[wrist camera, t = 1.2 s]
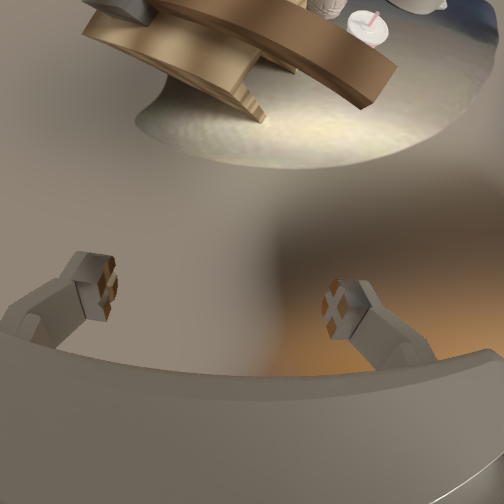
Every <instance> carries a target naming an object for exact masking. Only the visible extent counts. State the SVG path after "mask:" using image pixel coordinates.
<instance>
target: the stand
mask: <svg viewBox="0 0 504 504" xmlns="http://www.w3.org/2000/svg"><path fill="white" fill-rule="evenodd" d="M287 1H289V2H292V3H294V4H296V5H298V6H300V7H303V8H305V9H306V5H307V0H287ZM82 35H85V36H87V37H90V38H92V39H94V40H97V41H99V42H102V43H104V44H107V45H109V46H111V47H113V48H115V49H118V50H120V51H122V52H124V53H126V54H128V55H131V56H133V57H135V58H137V59H139V60H141V61H143V62H145V63H147V64H149V65H151V66H153V67H155V68H157V69H159V70H161V71H162V72H164V73H166V74H168V75H170V76H171V77H173V78H175V79H177V80H180V81H182V82H184V83H186V84H188V85H190V86H192V87H194V88H196V89H199V90H201V91H203V92H205V93H207V94H209V95H211V96H212V97H214V98H216V99H218V100H220V101H222V102H224V103H226V104H228V105H230V106H231V107H233V108H235V109H237V110H239V111H241V112H242V113H244V114H246V115H248V116H249V117H251V118H253V119H255V120H256V121H258V122H260V123H261V124H262V122H263V121H264V119H265V118H266V115H265V113H264V112H263V110H262V109H261V107H260V106H259V104H258V103H257V101H256V100H255V98H254V97H253V96H252V94H251V93H250V91H249V90H248V88H247V87H246V85H245V84H244V83H243V80H244V79H245V77H246V76H247V74H248V73H249V72H250V70H251V69H252V67H253V66H254V64H255V63H256V62H257V60H258V59H259V58H260V56H262V57H264V58H266V59H268V60H270V61H272V62H274V63H276V64H277V65H279V66H281V67H283V68H285V69H287V70H288V71H290V72H292V73H294V74H296V73H297V71H298V69H296V68H295V67H293V66H291V65H289V64H287V63H286V62H284V61H282V60H280V59H278V58H276V57H274V56H272V55H270V54H268V53H266V52H264V51H262V50H260V49H258V48H256V47H254V46H252V45H250V44H247V43H245V42H243V41H241V40H238V39H236V38H234V37H231V36H229V35H226V34H224V33H222V32H219V31H216V30H214V29H211V28H208V27H206V26H203V25H200V24H197V23H194V22H191V21H188V20H185V19H182V18H179V17H176V16H172V15H169V14H165V13H161V12H159V13H158V14H157V15H156V17H155V18H154V19H153V21H152V22H151V24H150V25H149V27H146V26H143V25H139V24H136V23H132V22H128V21H124V20H120V19H116V18H112V17H110V16H108V15H106V14H105V13H103V12H101V11H99V10H97V11H96V12H95V14H94V15H93V17H92V18H91V20H90V21H89V23H88V25H87V26H86V28H85V30H84V31H83V33H82Z"/></svg>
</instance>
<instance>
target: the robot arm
mask: <svg viewBox="0 0 504 504" xmlns="http://www.w3.org/2000/svg"><path fill="white" fill-rule="evenodd" d="M388 1H389V2H391V3H392V4H394V5H396V6H397V7H399V8H401V9H403V10H405V11H408V12H411V13H415V14H429V13H431V12H433V11H434V10H444V9H446V7H447V3H446V0H388ZM115 266H116V265H115V258H114V257H113V256H109V255H103V254H96V253H90V252H89V253H88V252H82V251H77V252H75V253H74V255H73V256H72V258H71V259H70V261H69V262H68V264H67V265H66V267H65V269H64V270H63V272H62V273H61V275H60V277H59V278H54V279H52V280H51V281H49V282H47V283H45V284H44V285H42V286H41V287H39V288H37V289H36V290H34V291H32V292H31V293H29V294H27V295H26V296H24V297H23V298H21V299H19V300H18V301H16V302H15V303H13V304H11V305H10V306H9V307H8V309H7V310H6V312H5V314H4V316H3V317H2V319H1V321H0V504H504V358H502V357H501V356H500V355H499V354H498V353H496V352H495V351H493V350H492V349H483V350H479V351H476V352H472V353H468V354H464V355H460V356H456V357H452V358H448V359H443V360H437V358H436V357H435V355H434V353H433V351H432V349H431V347H430V345H429V343H428V341H427V339H425V338H424V337H423V336H421V335H420V334H419V333H418V332H416V331H415V330H414V329H413V328H411V327H410V326H409V325H408V324H406V323H405V322H404V321H402V320H401V319H400V318H398V317H397V316H396V315H395V314H393V313H392V312H390V311H389V310H388V309H386V308H383V306H382V305H381V303H380V301H379V299H378V298H377V296H376V294H375V292H374V290H373V288H372V287H371V285H370V283H369V282H368V281H366V280H345V279H333V280H332V281H331V283H330V285H329V289H330V292H328V293H327V294H326V295H325V296H324V298H323V300H322V305H321V311H322V315H323V318H324V319H325V320H326V321H327V322H328V324H327V326H326V327H327V330H328V333H329V336H330V339H331V340H349V341H350V342H351V343H352V344H353V346H354V347H355V348H356V349H357V350H358V351H359V352H360V353H361V354H362V355H363V356H364V358H365V359H366V360H367V361H368V362H369V363H370V364H371V365H372V366H373V367H374V369H375V370H376V371H367V372H358V373H347V374H335V375H319V376H291V377H255V376H254V377H253V376H227V375H226V376H225V375H211V374H210V375H209V374H198V373H187V372H177V371H168V370H160V369H152V368H145V367H139V366H132V365H126V364H121V363H115V362H110V361H105V360H100V359H95V358H90V357H86V356H81V355H77V354H73V353H68V352H65V351H61V350H57V349H56V347H57V346H58V345H59V344H60V343H62V342H63V341H64V340H65V339H66V338H67V337H68V336H69V335H70V334H71V333H72V332H73V331H74V330H76V329H77V328H78V327H79V326H80V325H81V324H82V323H83V322H84V321H85V320H86V319H89V320H96V321H103V322H107V319H108V316H109V313H110V311H111V305H110V303H111V302H112V301H113V300H115V297H116V294H117V288H118V279H117V275H116V274H115V272H114V271H113V270H114V268H115Z"/></svg>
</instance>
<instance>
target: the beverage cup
mask: <svg viewBox="0 0 504 504" xmlns="http://www.w3.org/2000/svg"><path fill="white" fill-rule="evenodd" d="M378 15H379V12H378V11H376V13H375V14H374V13H372V12H369V11H356V12H354V13H352V14H351V16H350V17H349V19H348V28H347V32H349V33H350V34H352V35H354V36H355V37H357V38H358V39H360V40H362V41H363V42H365V43H366V44H368V45H369V46H371V47H372V48H374V47H376V46H377V45H379V44H380V43H382V42H384V41H385V40H386V38H387V36H388V28H387V25H386V23H385V22H384V21H383V20H382V19H381V18H380V17H379V16H378Z"/></svg>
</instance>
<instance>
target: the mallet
mask: <svg viewBox="0 0 504 504" xmlns="http://www.w3.org/2000/svg"><path fill="white" fill-rule="evenodd" d="M82 2H84V3H86V4H88V5H90V6H92V7H94V8H95V9H97V10H99V11H101V12H103V13H105V14H106V15H108V16H110V17H112V18H116V19H120V20H124V21H128V22H132V23H136V24H139V25H143V26H146V27H149V25H150V24H151V22H152V21H153V19H154V18H155V17H156V15H157V14H158V13H159V12H161V13H165V14H169V15H172V16H176V17H179V18H182V19H185V20H188V21H191V22H194V23H197V24H200V25H203V26H206V27H208V28H211V29H214V30H216V31H219V32H222V33H224V34H226V35H229V36H231V37H234V38H236V39H238V40H241V41H243V42H245V43H247V44H250V45H252V46H254V47H256V48H258V49H260V50H262V51H264V52H266V53H268V54H270V55H272V56H274V57H276V58H278V59H280V60H282V61H284V62H286V63H287V64H289V65H291V66H293V67H295V68H296V69H298V70H300V71H302V72H303V73H305V74H307V75H309V76H310V77H312V78H314V79H315V80H317V81H318V82H320V83H322V84H323V85H325V86H326V87H328V88H329V89H331V90H332V91H334V92H336V93H337V94H339V95H340V96H341V97H343V98H344V99H346V100H347V101H349V102H350V103H352V104H353V105H354V106H356V107H357V108H358V109H360V110H362V109H363V108H365V107H367V106H369V105H371V104H372V103H374V102H375V100H376V99H377V97H378V96H379V94H380V93H381V91H382V90H383V88H384V87H385V85H386V84H387V82H388V81H389V79H390V78H391V76H392V74H393V73H394V71H395V70H396V68H397V67H398V66H397V65H395V64H394V63H393V62H391V61H390V60H389V59H387V58H386V57H385V56H383V55H382V54H381V53H379V52H378V51H376V50H375V49H373V48H372V47H371V46H369V45H368V44H366V43H365V42H363V41H362V40H360V39H358V38H357V37H355V36H354V35H352V34H350V33H349V32H347V31H345V30H344V29H342V28H340V27H339V26H337V25H335V24H333V23H332V22H330V21H328V20H326V19H324V18H322V17H321V16H319V15H317V14H315V13H313V12H311V11H309V10H307V9H305V8H303V7H300V6H298V5H296V4H294V3H292V2H289V1H287V0H82Z"/></svg>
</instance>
